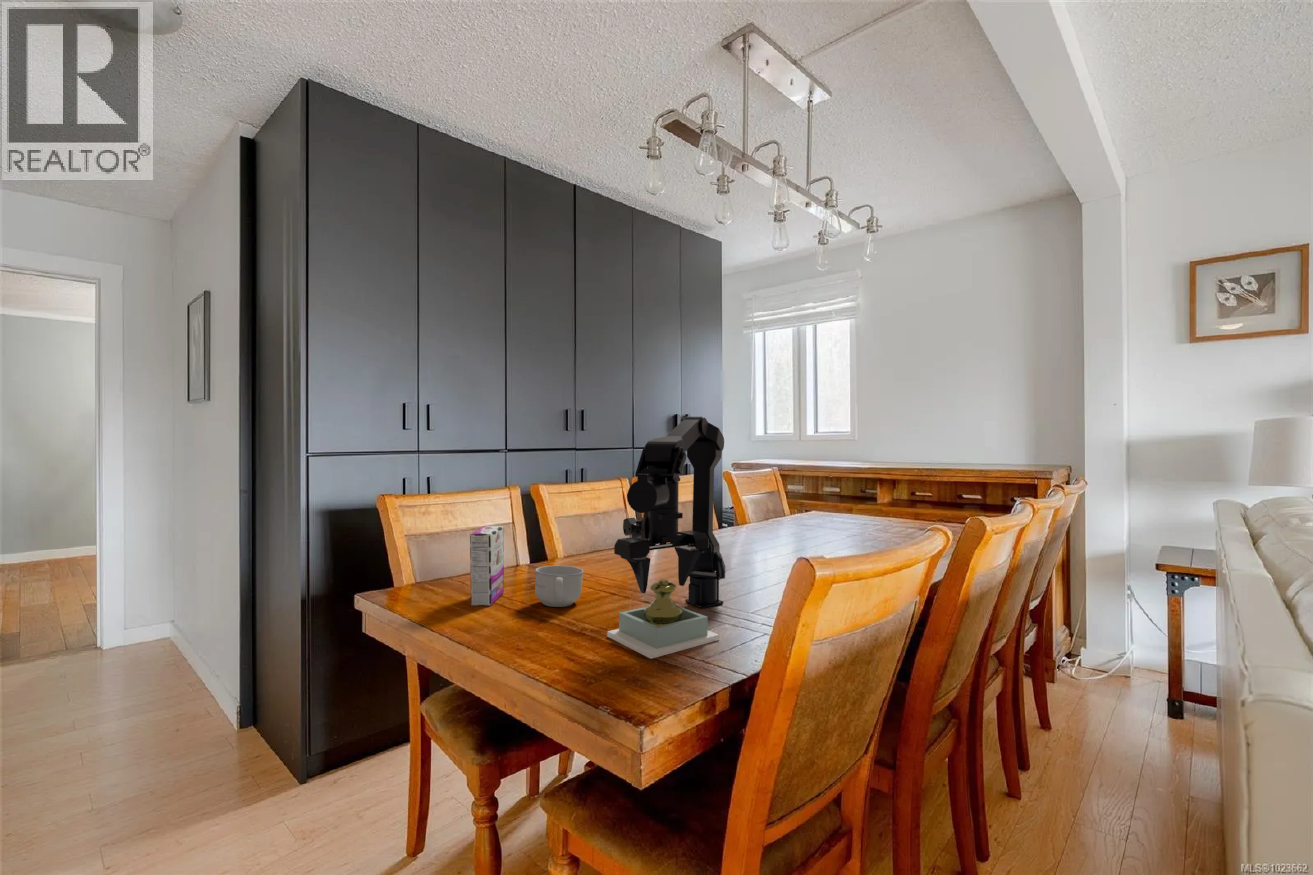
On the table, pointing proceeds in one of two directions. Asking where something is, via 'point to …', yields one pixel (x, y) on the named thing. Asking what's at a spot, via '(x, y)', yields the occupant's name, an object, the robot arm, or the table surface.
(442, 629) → the table surface
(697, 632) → the grey green tray
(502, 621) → the table surface
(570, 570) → the teacup
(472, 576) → the candy bar box
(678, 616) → the gold rounded piece
